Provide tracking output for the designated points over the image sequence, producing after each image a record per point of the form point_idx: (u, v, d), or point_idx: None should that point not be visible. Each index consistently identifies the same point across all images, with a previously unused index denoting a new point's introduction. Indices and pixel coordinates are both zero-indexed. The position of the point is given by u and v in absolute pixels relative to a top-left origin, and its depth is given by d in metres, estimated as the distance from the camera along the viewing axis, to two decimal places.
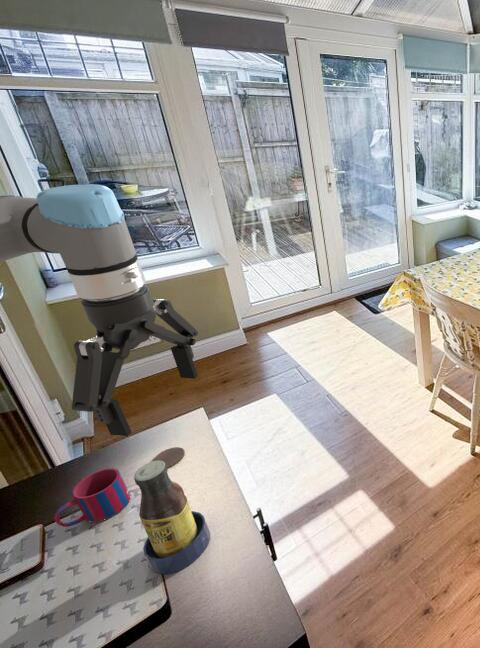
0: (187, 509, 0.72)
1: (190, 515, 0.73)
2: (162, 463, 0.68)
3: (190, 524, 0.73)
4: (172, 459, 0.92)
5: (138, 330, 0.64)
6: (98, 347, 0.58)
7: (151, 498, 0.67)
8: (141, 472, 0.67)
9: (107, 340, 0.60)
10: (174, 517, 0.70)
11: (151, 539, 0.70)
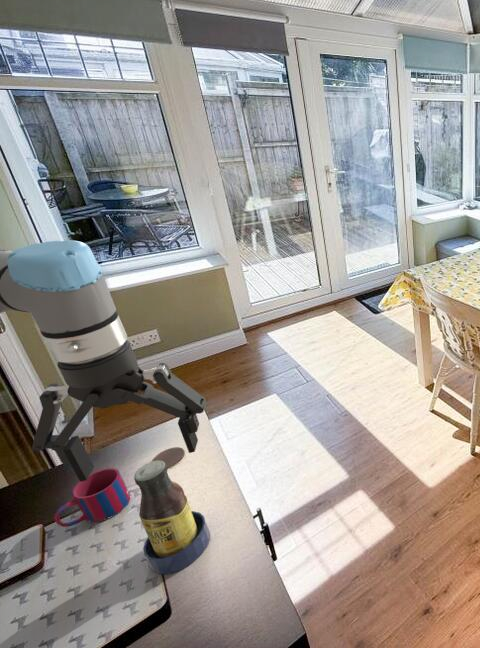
0: (187, 509, 0.72)
1: (190, 515, 0.73)
2: (162, 463, 0.68)
3: (190, 524, 0.73)
4: (172, 459, 0.92)
5: (110, 393, 0.60)
6: (50, 399, 0.57)
7: (151, 498, 0.67)
8: (141, 472, 0.67)
9: (68, 394, 0.58)
10: (174, 517, 0.70)
11: (151, 539, 0.70)
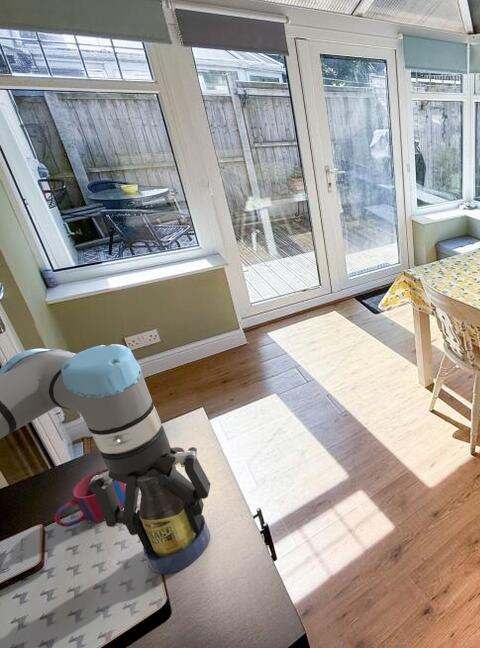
0: None
1: None
2: None
3: (190, 524, 0.73)
4: None
5: (145, 473, 0.66)
6: (97, 487, 0.64)
7: (150, 497, 0.67)
8: None
9: (111, 478, 0.65)
10: (174, 517, 0.70)
11: (151, 539, 0.70)
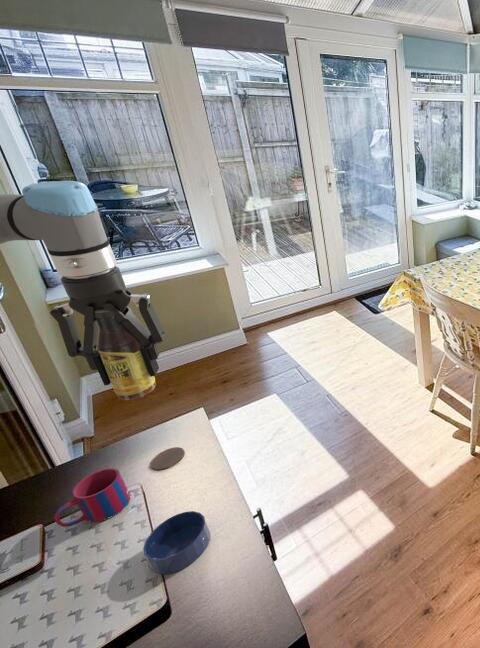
0: None
1: None
2: None
3: (146, 367, 0.81)
4: (172, 459, 0.92)
5: (103, 307, 0.74)
6: (59, 313, 0.72)
7: (107, 331, 0.75)
8: None
9: (71, 308, 0.73)
10: (130, 355, 0.78)
11: (109, 374, 0.78)
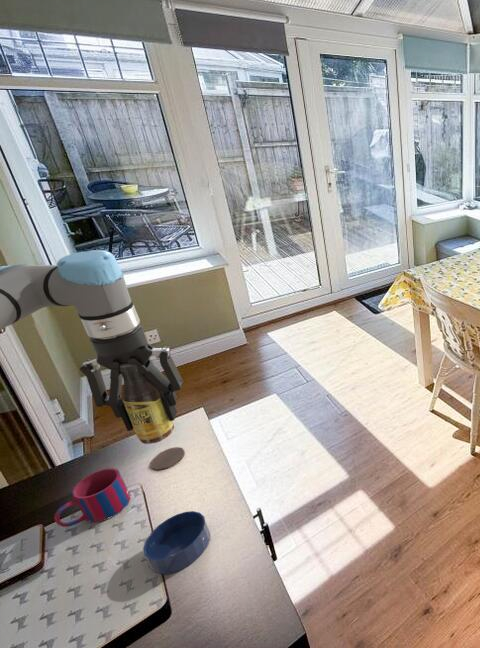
0: None
1: None
2: None
3: (166, 413, 0.88)
4: (172, 459, 0.92)
5: (127, 362, 0.81)
6: (87, 369, 0.78)
7: (131, 383, 0.82)
8: None
9: (98, 363, 0.79)
10: (152, 403, 0.84)
11: (132, 421, 0.84)
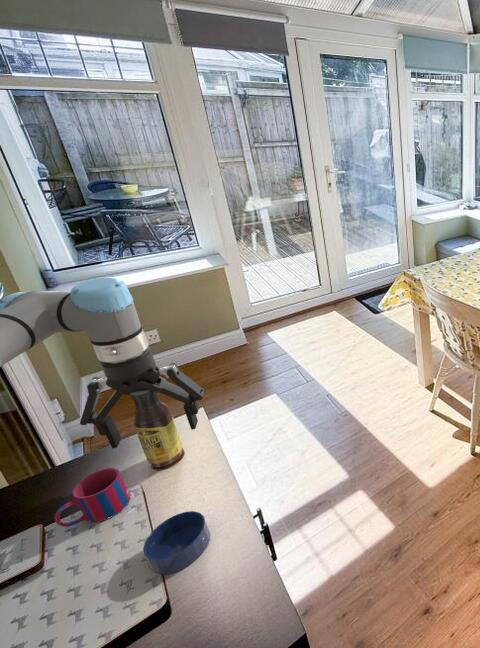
0: (173, 424, 0.90)
1: (175, 430, 0.91)
2: None
3: (175, 437, 0.91)
4: None
5: (136, 384, 0.83)
6: (94, 388, 0.80)
7: (143, 410, 0.85)
8: None
9: (106, 384, 0.81)
10: (162, 428, 0.87)
11: (143, 446, 0.87)
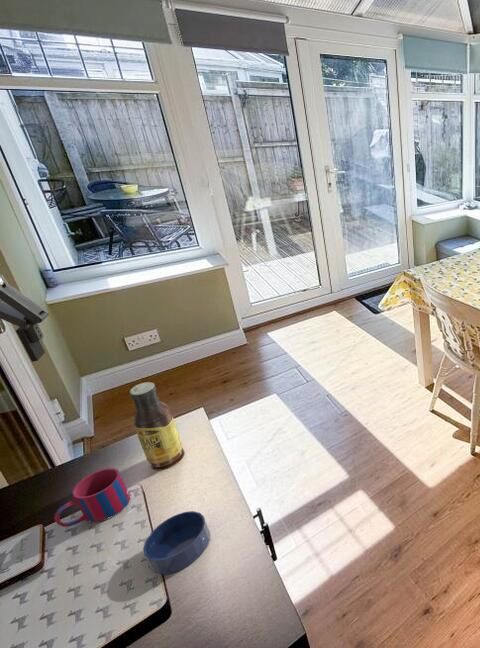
0: (173, 424, 0.90)
1: (175, 430, 0.91)
2: (152, 384, 0.86)
3: (175, 437, 0.91)
4: None
5: None
6: None
7: (143, 410, 0.85)
8: (135, 389, 0.84)
9: None
10: (162, 428, 0.87)
11: (143, 446, 0.87)
